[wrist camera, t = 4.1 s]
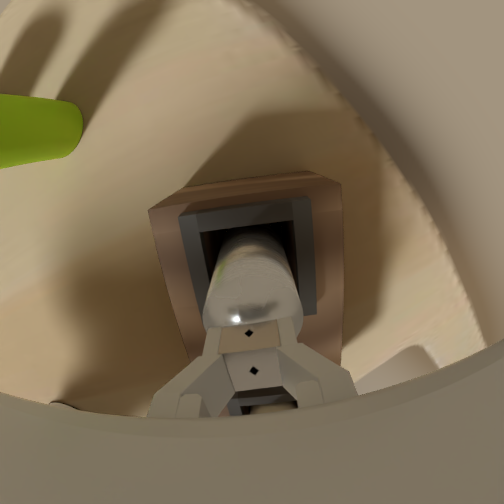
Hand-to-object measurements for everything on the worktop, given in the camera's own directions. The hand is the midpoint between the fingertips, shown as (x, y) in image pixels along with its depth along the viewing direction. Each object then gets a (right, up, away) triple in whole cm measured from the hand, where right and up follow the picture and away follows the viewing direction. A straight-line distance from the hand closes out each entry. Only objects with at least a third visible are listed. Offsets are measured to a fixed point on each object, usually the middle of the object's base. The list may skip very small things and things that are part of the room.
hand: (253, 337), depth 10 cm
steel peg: (0, +3, +9) cm, 9 cm away
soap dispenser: (-19, +16, +11) cm, 27 cm away
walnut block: (+1, -1, +17) cm, 18 cm away
